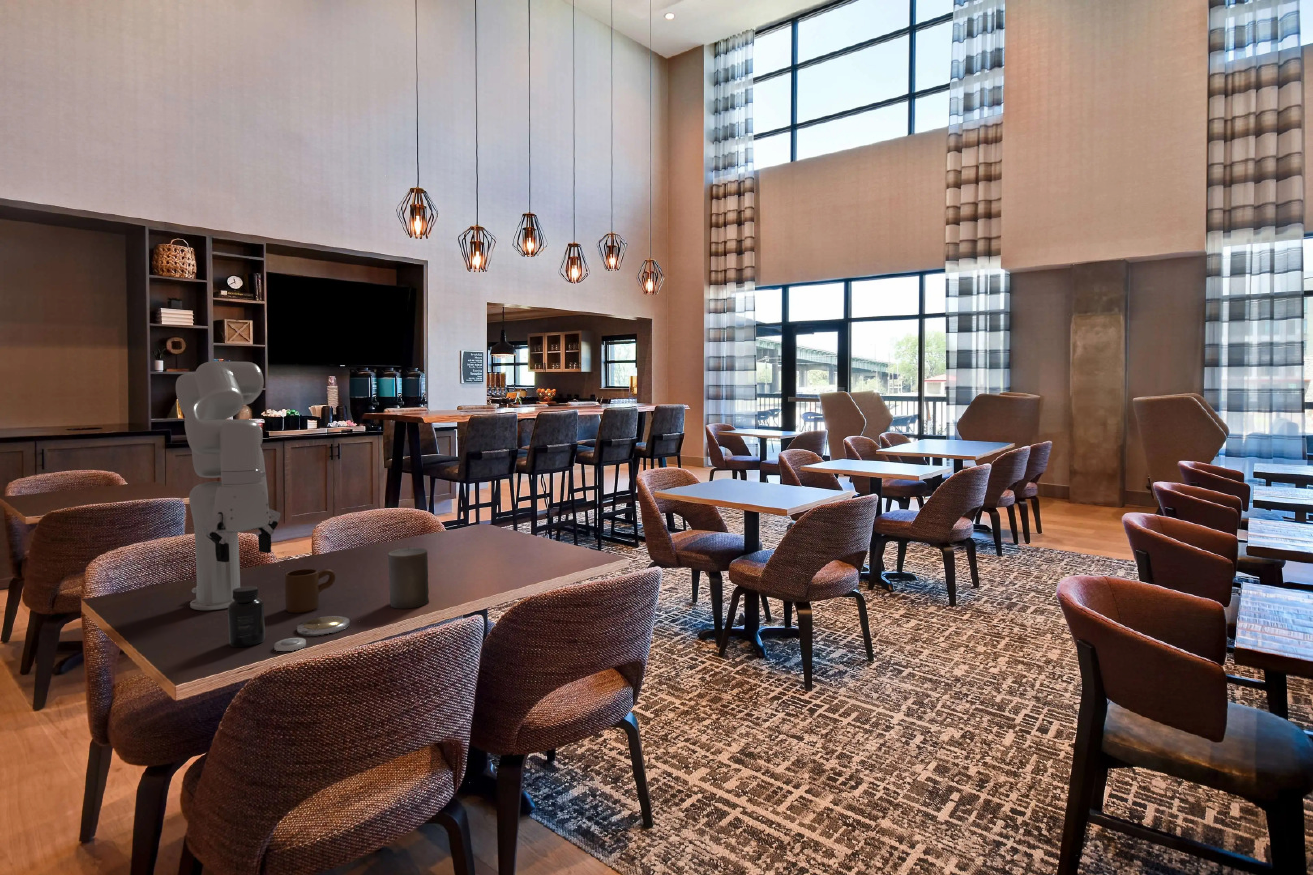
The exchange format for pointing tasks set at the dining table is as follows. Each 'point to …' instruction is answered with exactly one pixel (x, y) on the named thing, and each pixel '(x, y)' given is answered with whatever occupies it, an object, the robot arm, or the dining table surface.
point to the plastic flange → (290, 644)
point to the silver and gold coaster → (323, 625)
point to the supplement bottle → (246, 618)
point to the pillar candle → (408, 578)
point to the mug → (305, 589)
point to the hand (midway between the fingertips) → (244, 556)
